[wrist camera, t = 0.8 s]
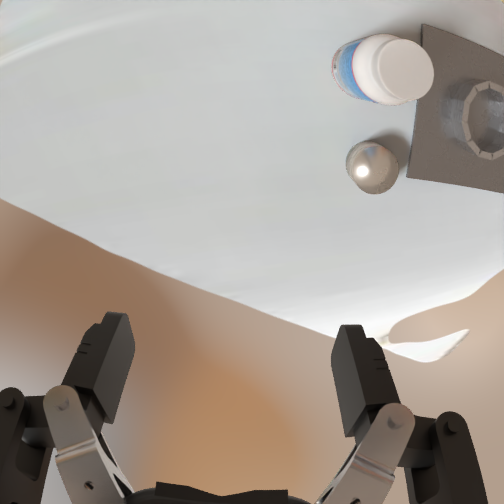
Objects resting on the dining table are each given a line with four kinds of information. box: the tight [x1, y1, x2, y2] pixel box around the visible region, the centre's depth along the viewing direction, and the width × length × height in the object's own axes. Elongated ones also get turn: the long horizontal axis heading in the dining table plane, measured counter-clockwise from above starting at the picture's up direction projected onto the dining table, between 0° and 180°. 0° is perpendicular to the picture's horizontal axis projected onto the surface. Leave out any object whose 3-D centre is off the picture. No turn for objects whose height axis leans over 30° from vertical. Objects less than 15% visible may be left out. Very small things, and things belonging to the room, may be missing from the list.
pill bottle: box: [331, 34, 434, 105], centre depth 22 cm, size 6×6×11 cm
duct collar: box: [406, 24, 504, 193], centre depth 27 cm, size 18×18×3 cm
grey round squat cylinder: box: [346, 141, 399, 194], centre depth 31 cm, size 5×5×3 cm
